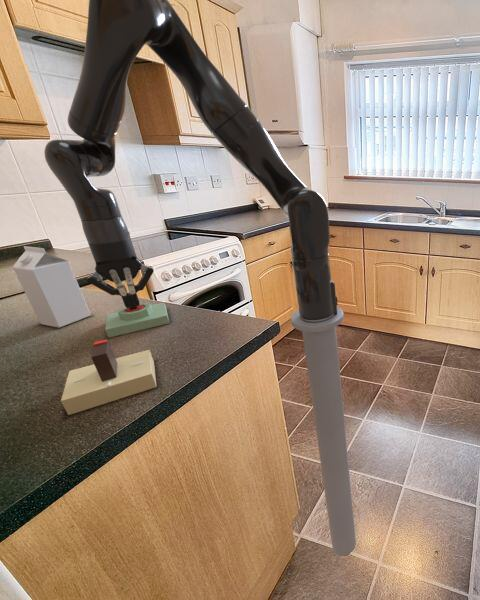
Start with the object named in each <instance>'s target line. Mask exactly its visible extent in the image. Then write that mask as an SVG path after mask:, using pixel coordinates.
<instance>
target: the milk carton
mask: <svg viewBox="0 0 480 600" xmlns="http://www.w3.org/2000/svg"><path fill="white" fill-rule="evenodd" d="M23 248H24V252H23V253H22V254H21V255H20V256H19V257H18V259H17V261H16V262H15V263H14V264H13V265H12V269H13V271H14V273H15V275H16V277H17V279H18V281H19V283H20V285H21V287H22V289H23V291H24V293H25V295H26V297H27V300H28V301H29V303H30V305H31V307H32V310H33V312H34V314H35V315H36V317H37V319H38V321H39V324H40V325H44V326H49V327H53V328H62V327H65V326H67V325H70V324H73V323H75V322H78V321H80V320H83V319H86V318H88V317H90V316H92V315H91V314H92V313H91V311H90V309H89V307H88V303H87V302H86V299H85V297H84V295H83V292H82V290H81V288H80V285H79V282H78V280H77V279H76V276H75V273H74V272H73V269H72V267H71V263H70V262H69V260H68V259H64V258H61V257H59V256H56V255H53V254H50V253H47V252H46V250H45V248H44V247H43V248H42V247H35V246H26V245H24V246H23Z"/></svg>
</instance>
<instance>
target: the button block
mask: <svg viewBox="0 0 480 600" xmlns="http://www.w3.org/2000/svg"><path fill="white" fill-rule="evenodd" d="M139 305H143V306H144V308H143V309H141V310H138V311H133V312H126V310H125V309H126V307H125V306H123V307H121V308H120V309H118V311H117V312H116V311H115V312H111V313H107V314H106V321H105V327H104V330H105V333H106V336H107V338H108V339H110V338H114V337H117V336H122V335H126V334H130V333H134V332H138V331H143V330H147V329H152V328H155V327H159V326H163V325H167V324H170V318H169V315H168V310H167V307H166V303H165V302H158V303H154V304H151V303H148V302H139Z"/></svg>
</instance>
